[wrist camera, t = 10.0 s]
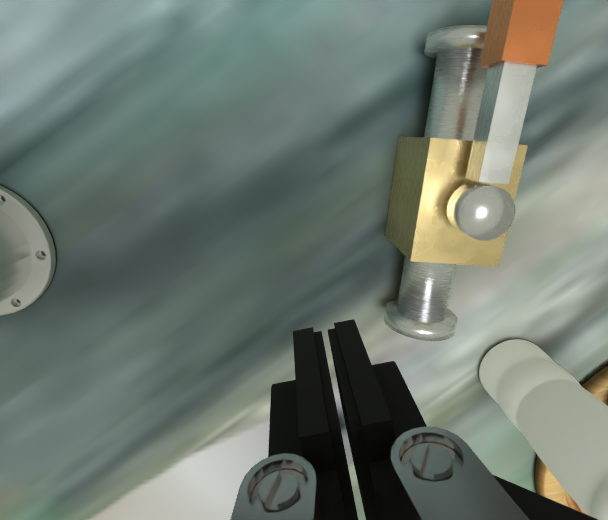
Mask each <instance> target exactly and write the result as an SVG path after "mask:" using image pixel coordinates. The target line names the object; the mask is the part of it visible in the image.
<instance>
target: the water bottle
mask: <svg viewBox="0 0 608 520" xmlns="http://www.w3.org/2000/svg"><path fill="white" fill-rule="evenodd" d="M479 377H480V381H481V383H482V385H483V387H484V388H485V390H486V391H487V392H488V394H489V395H490V396H491V397H492V398H493V399H494V400H495V401H496V402H497V403H498V404H499V405H500V406H501V408H502V410H503V412H504V413H505V415H506V416H507V417H508V419H509V420H510V421H511V422H512V423H513V424H514V426H515V427H516V428H518V429H519V430H520V431H521V432H522V433H523V435H524V436H525V438H526V439H527V441H528V442H529V444H530V445H531V447H532V448H533V450H534V451H535V452H536V454H537V455H538V456H539V458H540V459H541V460H542V462H543V463H544V464H545V466H546V467H547V468H548V469H549V471H550V472H551V473H552V474H553V476H554V477H555V478H556V479H557V481H558V482H559V483H560V484H561V486H562V487H563V488H564V489H565V490H566V492H567V493H568V494H569V495H570V496H571V498H572V499H573V500H574V501H575V502H576V503H577V504H578V506H579V507H580V508H581V509H582V510H583V511H584V512H585V513H586V514H587V515H589V516H591V517H593V518H596V519H598V520H608V406H607V405H606V404H605V403H603V402H602V401H601V400H599V399H598V398H597V397H595V396H594V395H593V394H591V393H590V392H589V391H587V390H586V389H584V388H583V387H582V386H581V385H580V384H579V383H578V381H577V380H576V379H575V378H574V377H573V376H572V375H571V374H569V373H568V372H567V371H566V370H565V369H563V368H562V367H560V366H559V365H557V364H555V363H554V361H553V360H552V359H551V358H550V357H549V356H548V355H547V354H546V353H545V352H544V351H543V350H541V349H540V348H539V347H538V346H536V345H535V344H533V343H531V342H529V341H526V340H520V339H514V340H508V341H505V342H502V343H500V344H498V345H496V346H495V347H493V348H492V349H491V350H490V351H489V352H488V353H487V354H486V355H485V357H484V358H483V360H482V362H481V365H480V369H479Z"/></svg>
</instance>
